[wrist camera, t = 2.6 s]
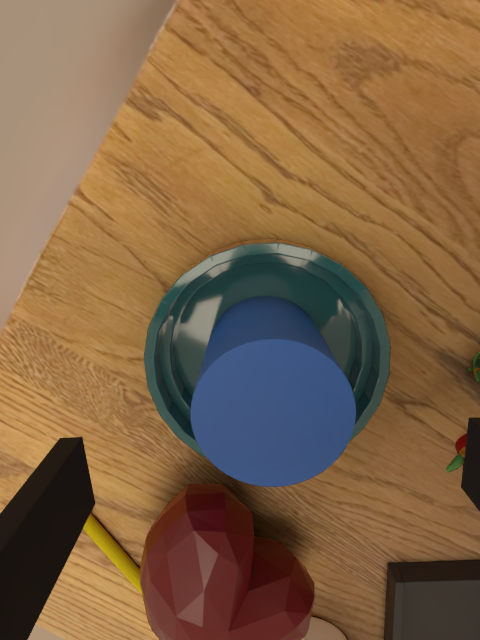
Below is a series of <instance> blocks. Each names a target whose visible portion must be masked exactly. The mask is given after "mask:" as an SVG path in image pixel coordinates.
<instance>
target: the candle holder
mask: <svg viewBox="0 0 480 640" xmlns="http://www.w3.org/2000/svg"><path fill="white" fill-rule="evenodd" d="M301 640H347V638H346V637H345V635H344V634H343V633H342V632H341V631H340V630H339V629H338V628H337V627H335V626H334V625H332V624H331V623H329V622H327V621H325V620H322V619H319V618H315V617H311V619H310V624H309V630H308V632H307V634H306V636H305V637H304V638H303V639H301Z"/></svg>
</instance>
